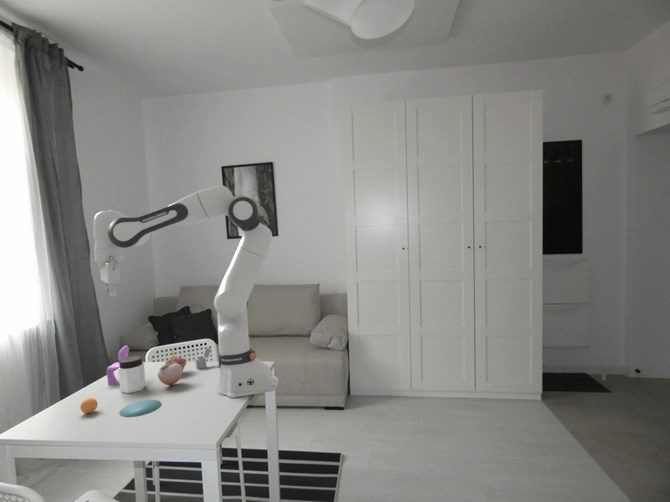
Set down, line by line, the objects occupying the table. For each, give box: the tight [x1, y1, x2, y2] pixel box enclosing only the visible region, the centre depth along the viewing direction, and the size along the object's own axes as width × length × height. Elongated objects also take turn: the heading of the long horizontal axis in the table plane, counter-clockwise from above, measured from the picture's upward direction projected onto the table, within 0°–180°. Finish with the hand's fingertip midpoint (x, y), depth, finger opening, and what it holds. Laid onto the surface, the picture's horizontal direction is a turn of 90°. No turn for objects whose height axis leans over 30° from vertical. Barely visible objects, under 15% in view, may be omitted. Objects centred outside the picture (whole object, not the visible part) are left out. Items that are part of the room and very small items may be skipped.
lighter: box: [195, 347, 212, 370], centre depth 179 cm, size 7×2×8 cm, turn 143°
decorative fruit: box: [157, 361, 184, 387], centre depth 158 cm, size 9×8×10 cm
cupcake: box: [164, 348, 187, 370], centre depth 172 cm, size 9×8×12 cm
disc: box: [118, 399, 162, 418], centre depth 138 cm, size 13×13×1 cm
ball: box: [79, 397, 99, 414], centre depth 137 cm, size 5×5×5 cm
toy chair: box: [106, 345, 130, 386], centre depth 166 cm, size 8×9×15 cm
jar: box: [117, 355, 147, 394], centre depth 157 cm, size 9×8×12 cm
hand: (110, 295), depth 143 cm, fingers open, 8 cm apart
